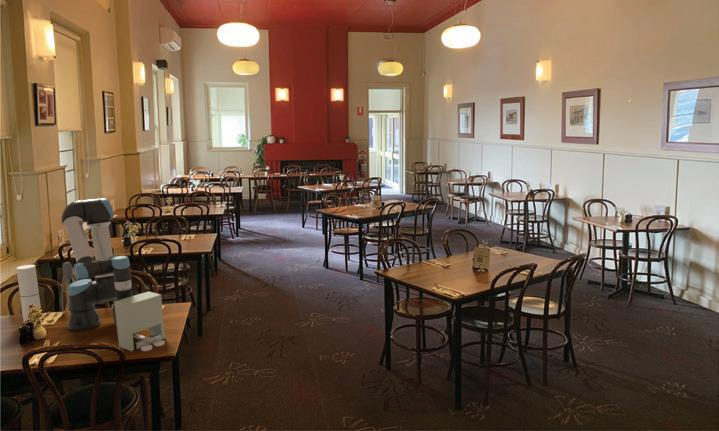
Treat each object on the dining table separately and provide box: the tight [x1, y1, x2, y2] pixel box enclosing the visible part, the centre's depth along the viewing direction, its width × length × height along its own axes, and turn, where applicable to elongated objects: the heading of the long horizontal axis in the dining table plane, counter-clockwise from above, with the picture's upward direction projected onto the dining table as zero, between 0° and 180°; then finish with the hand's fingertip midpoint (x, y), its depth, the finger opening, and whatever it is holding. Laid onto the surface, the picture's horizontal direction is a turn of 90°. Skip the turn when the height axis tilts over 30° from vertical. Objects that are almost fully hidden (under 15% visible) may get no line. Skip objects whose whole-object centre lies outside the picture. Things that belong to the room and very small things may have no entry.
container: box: [15, 264, 42, 323], centre depth 307 cm, size 9×9×30 cm
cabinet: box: [113, 290, 166, 352], centre depth 274 cm, size 10×18×22 cm, turn 143°
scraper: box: [133, 332, 162, 350], centre depth 277 cm, size 20×13×11 cm, turn 53°
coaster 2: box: [152, 339, 166, 347], centre depth 274 cm, size 5×5×1 cm
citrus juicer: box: [60, 261, 78, 315], centre depth 315 cm, size 11×10×30 cm
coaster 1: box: [140, 344, 153, 352], centre depth 268 cm, size 5×5×1 cm
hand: (128, 334), depth 283 cm, fingers closed on scraper, 4 cm apart
